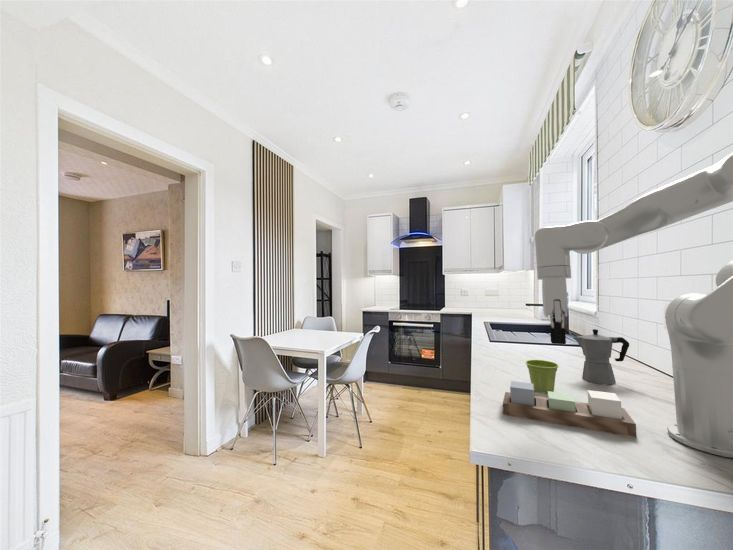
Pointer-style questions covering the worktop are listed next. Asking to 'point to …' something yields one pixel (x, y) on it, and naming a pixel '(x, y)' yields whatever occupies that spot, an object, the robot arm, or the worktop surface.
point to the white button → (604, 404)
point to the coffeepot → (599, 356)
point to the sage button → (561, 401)
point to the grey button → (522, 393)
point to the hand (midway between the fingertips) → (558, 343)
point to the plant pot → (542, 374)
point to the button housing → (570, 416)
